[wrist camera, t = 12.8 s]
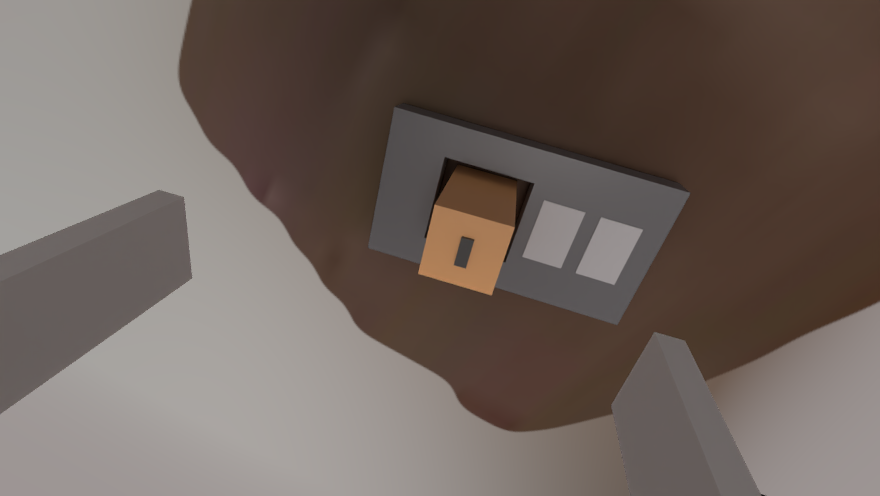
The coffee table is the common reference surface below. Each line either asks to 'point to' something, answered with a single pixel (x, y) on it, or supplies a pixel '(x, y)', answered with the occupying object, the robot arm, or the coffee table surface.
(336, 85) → the coffee table surface
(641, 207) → the power strip
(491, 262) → the charger
